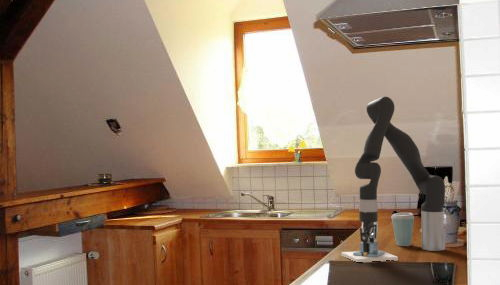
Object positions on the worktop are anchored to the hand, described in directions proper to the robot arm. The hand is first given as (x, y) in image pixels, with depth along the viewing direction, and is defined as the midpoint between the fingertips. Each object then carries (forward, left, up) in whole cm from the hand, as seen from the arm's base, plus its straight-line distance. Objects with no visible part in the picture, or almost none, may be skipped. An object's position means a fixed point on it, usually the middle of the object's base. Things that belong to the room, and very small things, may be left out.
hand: (368, 250), depth 237 cm
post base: (0, 0, -3) cm, 3 cm away
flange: (0, 0, -2) cm, 2 cm away
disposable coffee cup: (-29, -25, -3) cm, 38 cm away
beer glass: (-8, -16, -3) cm, 18 cm away
